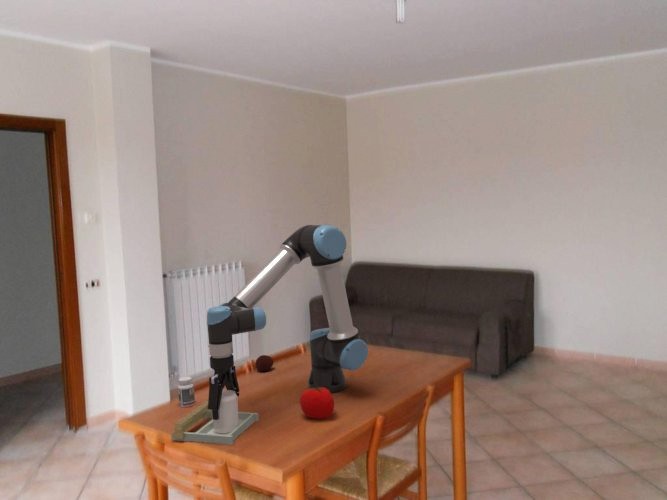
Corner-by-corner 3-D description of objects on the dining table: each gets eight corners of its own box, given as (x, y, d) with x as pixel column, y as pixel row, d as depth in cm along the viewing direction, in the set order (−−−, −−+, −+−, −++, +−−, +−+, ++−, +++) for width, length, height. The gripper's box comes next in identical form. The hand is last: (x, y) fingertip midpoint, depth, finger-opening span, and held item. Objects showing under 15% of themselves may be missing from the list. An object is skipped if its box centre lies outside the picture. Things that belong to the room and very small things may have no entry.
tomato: (325, 425, 191) (323, 394, 190) (293, 418, 198) (292, 389, 197) (343, 413, 200) (341, 384, 199) (312, 408, 207) (310, 379, 206)
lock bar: (217, 412, 203) (216, 400, 203) (183, 438, 182) (182, 425, 181) (207, 411, 204) (206, 399, 204) (171, 437, 183) (170, 424, 182)
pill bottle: (198, 402, 218) (196, 376, 217) (189, 408, 213) (187, 381, 212) (184, 401, 220) (182, 375, 219) (176, 406, 215) (174, 380, 214)
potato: (277, 368, 258) (276, 353, 257) (265, 374, 251) (264, 358, 250) (264, 367, 262) (263, 351, 261) (252, 372, 254) (251, 356, 254)
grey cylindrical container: (212, 435, 186) (209, 398, 185) (215, 425, 194) (213, 390, 193) (238, 433, 186) (235, 396, 185) (239, 424, 194) (237, 388, 193)
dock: (258, 420, 198) (258, 413, 197) (232, 444, 178) (231, 436, 178) (202, 416, 204) (202, 409, 203) (171, 440, 184) (170, 432, 184)
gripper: (226, 345, 200) (231, 409, 202) (192, 364, 178) (197, 435, 180) (247, 346, 198) (251, 410, 200) (215, 365, 176) (219, 437, 178)
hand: (225, 422), depth 190 cm, fingers open, 10 cm apart
